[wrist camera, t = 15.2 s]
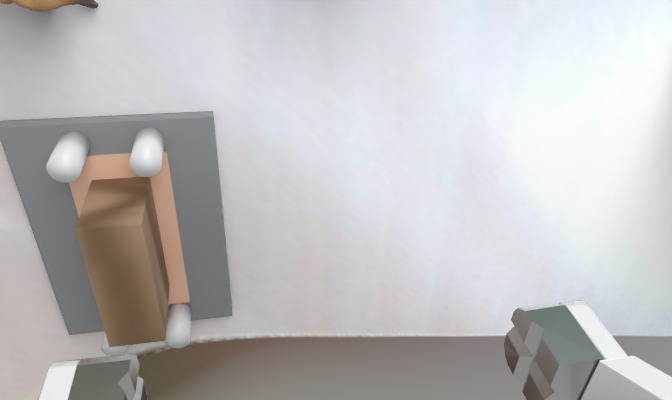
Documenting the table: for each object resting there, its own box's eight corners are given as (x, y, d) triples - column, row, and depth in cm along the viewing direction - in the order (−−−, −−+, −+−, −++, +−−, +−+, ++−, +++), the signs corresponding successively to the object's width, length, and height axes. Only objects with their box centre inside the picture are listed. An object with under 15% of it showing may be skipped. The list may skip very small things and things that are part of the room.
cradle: (212, 111, 38) (213, 139, 35) (231, 307, 49) (233, 344, 46) (0, 120, 36) (-23, 153, 32) (71, 326, 47) (60, 367, 43)
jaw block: (149, 176, 39) (141, 224, 34) (169, 286, 45) (165, 340, 40) (91, 180, 38) (75, 229, 33) (120, 291, 44) (109, 347, 39)
